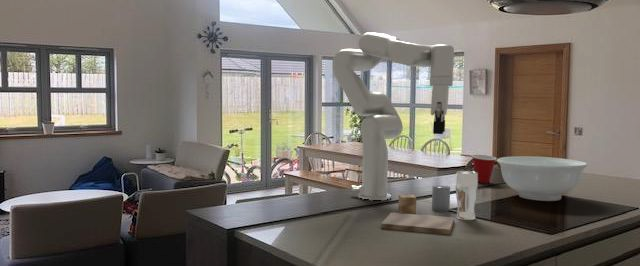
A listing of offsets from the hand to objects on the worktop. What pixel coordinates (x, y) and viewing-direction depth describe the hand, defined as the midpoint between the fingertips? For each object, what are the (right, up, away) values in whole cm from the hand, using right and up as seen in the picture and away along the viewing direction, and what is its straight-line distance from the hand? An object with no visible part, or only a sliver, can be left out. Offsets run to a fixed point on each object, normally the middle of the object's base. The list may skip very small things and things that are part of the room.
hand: (439, 132), depth 190 cm
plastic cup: (+33, -23, +62) cm, 74 cm away
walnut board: (-10, -28, -18) cm, 35 cm away
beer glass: (+7, -28, -8) cm, 30 cm away
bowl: (+45, -26, +29) cm, 59 cm away
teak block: (-11, -27, -2) cm, 29 cm away
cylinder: (+1, -27, +4) cm, 27 cm away
